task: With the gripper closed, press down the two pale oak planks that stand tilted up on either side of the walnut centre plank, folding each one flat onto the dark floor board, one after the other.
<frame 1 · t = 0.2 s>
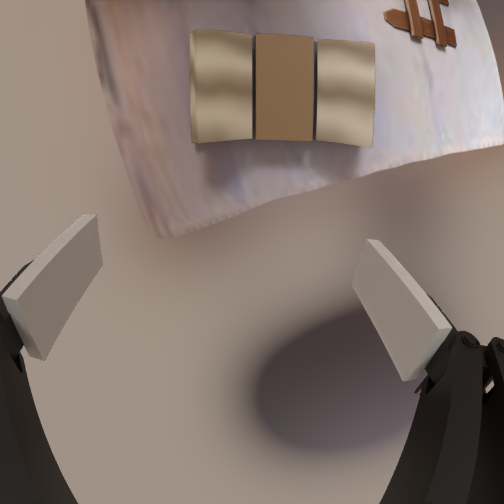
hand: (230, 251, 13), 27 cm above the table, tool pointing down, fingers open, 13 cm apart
floor board: (280, 87, 32), on the table
plank 1: (221, 84, 28), point 4 cm above the table, hinge at 30.0°
plank 2: (346, 91, 29), point 4 cm above the table, hinge at 30.0°
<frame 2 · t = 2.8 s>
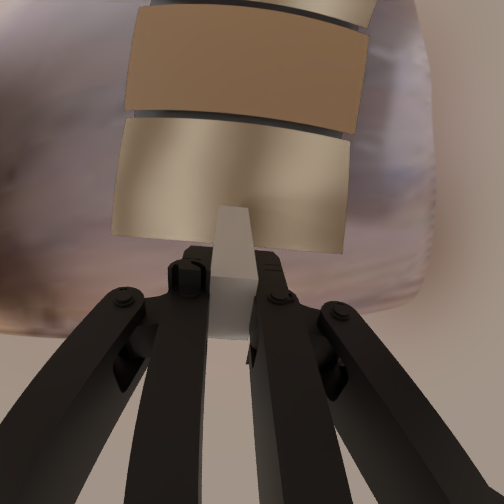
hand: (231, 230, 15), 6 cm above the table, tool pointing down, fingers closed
floor board: (246, 66, 16), on the table
plank 1: (232, 183, 16), point 4 cm above the table, hinge at 23.2°, touching gripper
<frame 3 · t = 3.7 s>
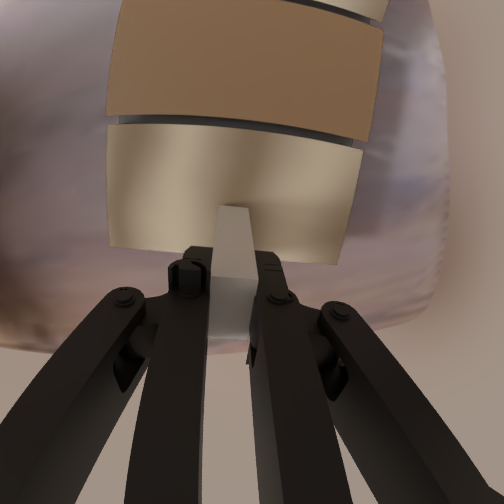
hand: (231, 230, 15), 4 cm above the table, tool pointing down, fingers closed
floor board: (244, 64, 14), on the table
plank 1: (229, 191, 15), point 3 cm above the table, hinge at 3.3°, touching gripper
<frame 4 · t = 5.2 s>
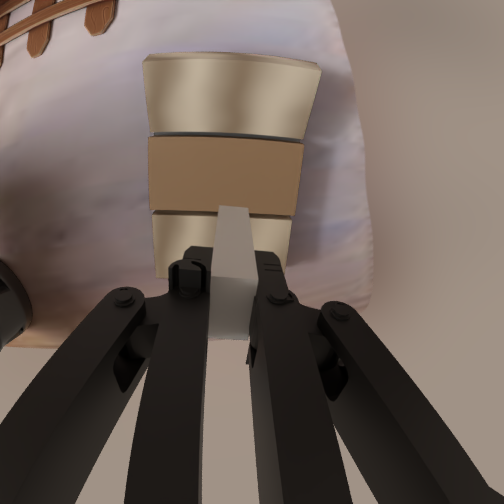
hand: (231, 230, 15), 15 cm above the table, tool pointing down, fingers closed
floor board: (224, 168, 28), on the table
plank 1: (220, 246, 29), point 3 cm above the table, hinge at 3.3°
decorative fence: (47, 8, 15), on the table
plank 2: (229, 93, 20), point 4 cm above the table, hinge at 30.0°
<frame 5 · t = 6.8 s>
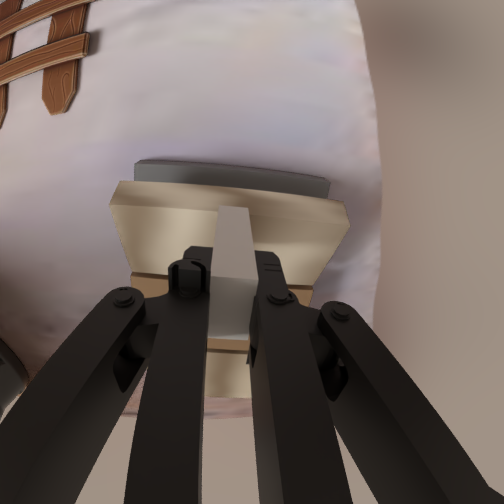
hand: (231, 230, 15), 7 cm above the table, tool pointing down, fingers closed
floor board: (220, 294, 25), on the table
plank 1: (215, 369, 26), point 3 cm above the table, hinge at 3.3°
decorative fence: (4, 60, 13), on the table
plank 2: (226, 238, 18), point 4 cm above the table, hinge at 26.5°, touching gripper
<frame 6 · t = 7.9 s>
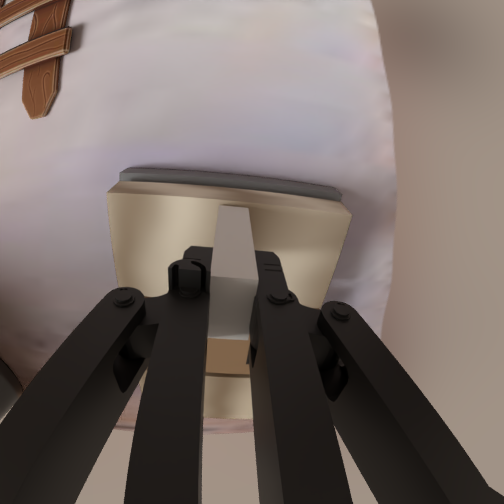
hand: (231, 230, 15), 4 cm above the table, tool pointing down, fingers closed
floor board: (218, 314, 23), on the table
plank 1: (213, 391, 24), point 3 cm above the table, hinge at 3.3°
plank 2: (224, 248, 17), point 3 cm above the table, hinge at 3.9°, touching gripper
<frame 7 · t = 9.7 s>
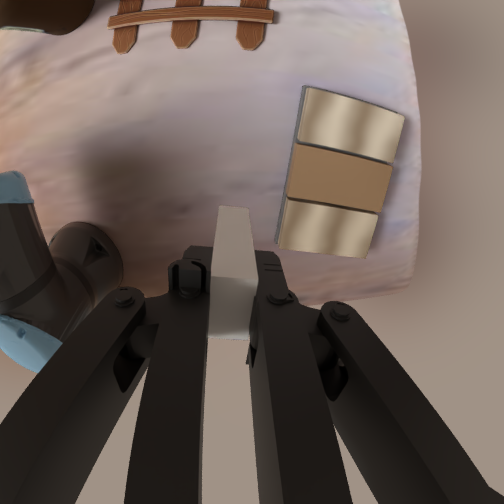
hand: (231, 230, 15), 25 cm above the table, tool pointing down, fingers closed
floor board: (335, 174, 38), on the table
plank 1: (329, 229, 39), point 3 cm above the table, hinge at 3.3°
decorative fence: (189, 5, 26), on the table
olive oil: (70, 10, 23), on the table
plank 2: (353, 125, 32), point 3 cm above the table, hinge at 3.8°
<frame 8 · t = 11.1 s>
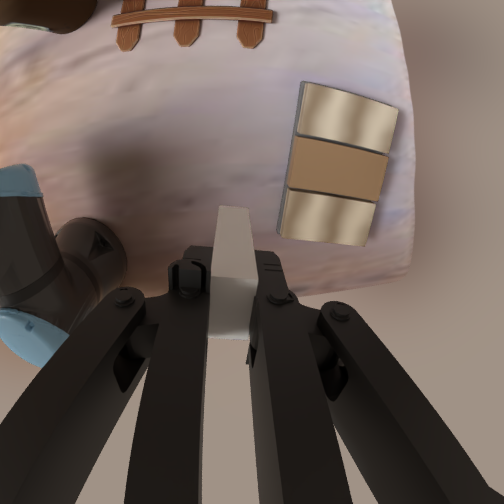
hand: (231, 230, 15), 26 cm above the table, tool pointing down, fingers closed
floor board: (333, 165, 40), on the table
plank 1: (328, 218, 41), point 3 cm above the table, hinge at 3.3°
decorative fence: (191, 5, 27), on the table
olive oil: (73, 10, 23), on the table
plank 2: (349, 118, 34), point 3 cm above the table, hinge at 3.8°
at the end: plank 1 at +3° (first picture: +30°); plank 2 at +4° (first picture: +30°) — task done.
